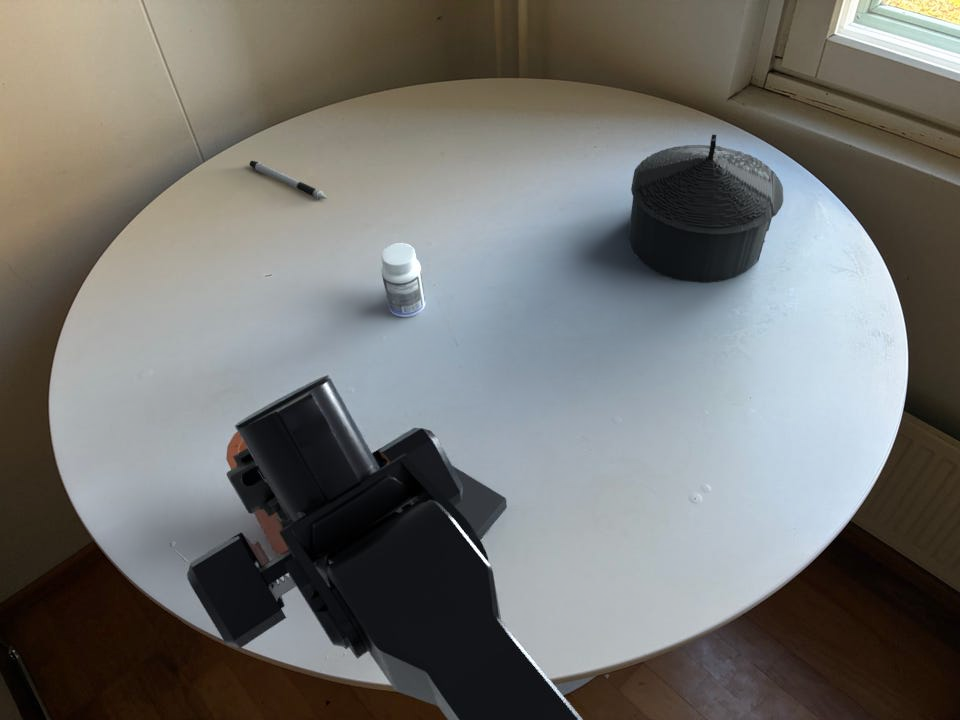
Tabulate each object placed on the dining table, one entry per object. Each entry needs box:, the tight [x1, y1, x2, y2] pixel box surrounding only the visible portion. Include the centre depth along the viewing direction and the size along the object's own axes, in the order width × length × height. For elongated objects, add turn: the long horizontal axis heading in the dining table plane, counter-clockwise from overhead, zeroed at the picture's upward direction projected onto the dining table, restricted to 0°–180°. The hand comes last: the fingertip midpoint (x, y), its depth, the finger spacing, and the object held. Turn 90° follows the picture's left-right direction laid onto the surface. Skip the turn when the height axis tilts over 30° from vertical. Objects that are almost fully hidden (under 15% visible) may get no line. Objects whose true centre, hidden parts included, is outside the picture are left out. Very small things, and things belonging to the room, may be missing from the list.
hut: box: [628, 134, 784, 284], centre depth 96 cm, size 18×18×15 cm
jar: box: [226, 430, 288, 555], centre depth 70 cm, size 7×7×14 cm
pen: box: [249, 160, 328, 200], centre depth 114 cm, size 1×16×1 cm, turn 53°
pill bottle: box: [381, 242, 427, 318], centre depth 93 cm, size 5×5×8 cm
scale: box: [452, 465, 508, 541], centre depth 73 cm, size 13×10×4 cm
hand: (311, 515), depth 61 cm, fingers open, 9 cm apart
